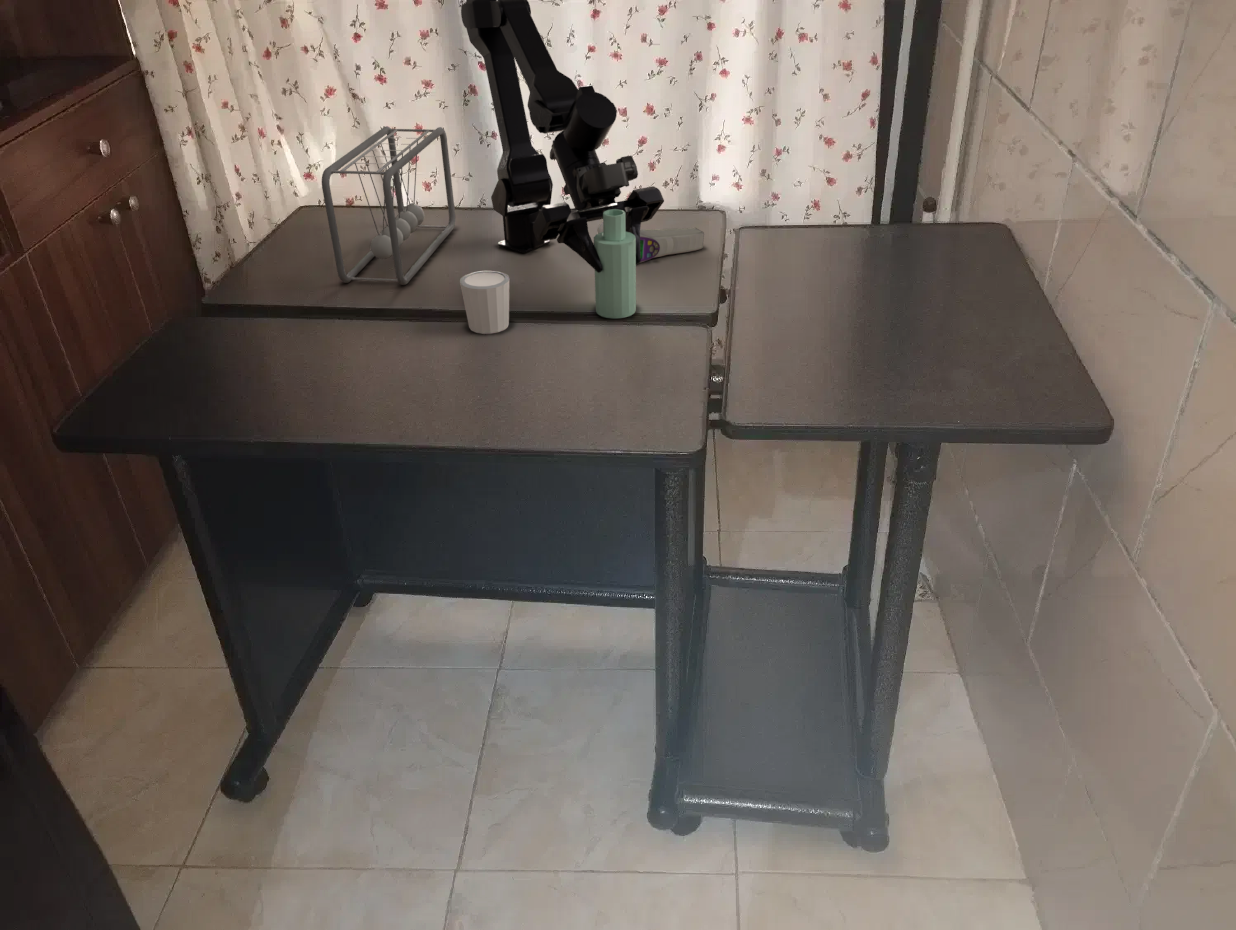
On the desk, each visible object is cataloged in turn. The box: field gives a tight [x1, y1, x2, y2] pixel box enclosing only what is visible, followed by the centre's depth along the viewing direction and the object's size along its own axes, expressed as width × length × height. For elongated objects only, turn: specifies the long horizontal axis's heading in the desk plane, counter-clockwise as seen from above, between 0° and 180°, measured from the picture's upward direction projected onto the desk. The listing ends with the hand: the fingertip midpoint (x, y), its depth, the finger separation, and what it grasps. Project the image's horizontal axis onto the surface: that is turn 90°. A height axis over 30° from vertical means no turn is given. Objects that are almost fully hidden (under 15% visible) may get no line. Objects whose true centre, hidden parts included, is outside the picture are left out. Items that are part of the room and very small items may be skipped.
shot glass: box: [459, 270, 511, 335], centre depth 134 cm, size 7×7×7 cm
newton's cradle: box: [321, 125, 456, 286], centre depth 156 cm, size 30×10×18 cm, turn 172°
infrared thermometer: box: [597, 221, 705, 264], centre depth 161 cm, size 5×12×15 cm
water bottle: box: [593, 209, 637, 319], centre depth 136 cm, size 6×6×14 cm
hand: (619, 267), depth 135 cm, fingers closed on water bottle, 6 cm apart
